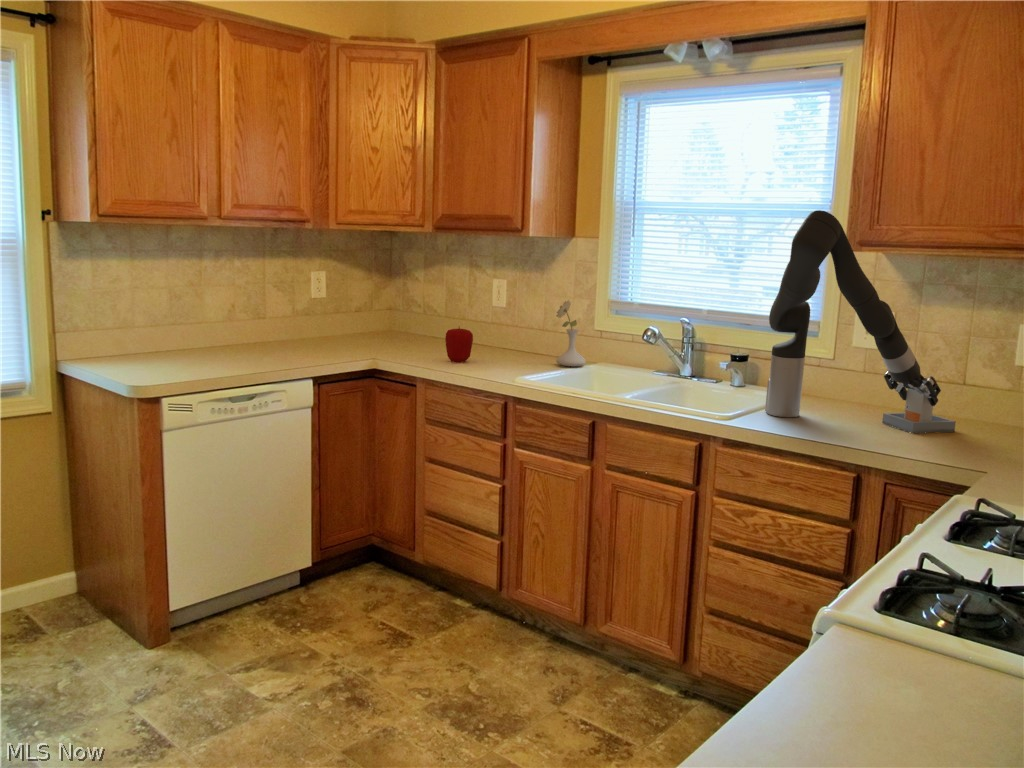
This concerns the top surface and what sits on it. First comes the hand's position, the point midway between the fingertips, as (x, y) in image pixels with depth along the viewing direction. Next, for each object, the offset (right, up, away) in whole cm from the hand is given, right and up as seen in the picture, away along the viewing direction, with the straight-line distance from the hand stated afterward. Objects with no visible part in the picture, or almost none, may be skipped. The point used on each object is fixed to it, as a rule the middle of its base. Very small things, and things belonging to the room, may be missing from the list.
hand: (920, 401), depth 244 cm
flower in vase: (-92, +11, +88) cm, 128 cm away
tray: (0, -8, +2) cm, 8 cm away
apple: (-133, +13, +89) cm, 161 cm away
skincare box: (0, -7, +2) cm, 7 cm away
